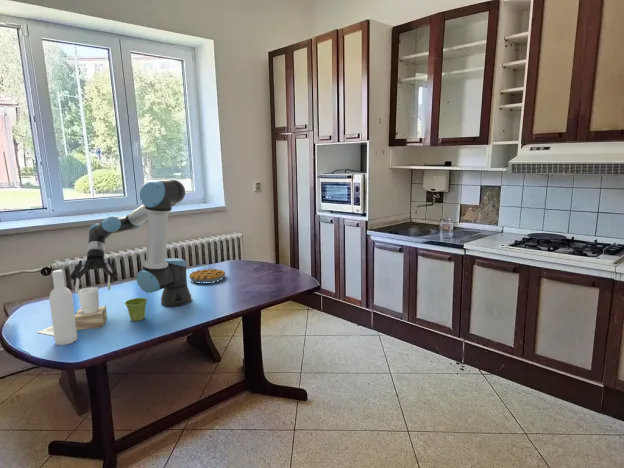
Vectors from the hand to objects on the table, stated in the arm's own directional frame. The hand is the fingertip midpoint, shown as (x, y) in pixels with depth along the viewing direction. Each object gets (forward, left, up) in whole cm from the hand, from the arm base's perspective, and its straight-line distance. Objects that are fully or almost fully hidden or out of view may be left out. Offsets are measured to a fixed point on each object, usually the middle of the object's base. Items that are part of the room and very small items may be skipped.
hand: (93, 290), depth 184 cm
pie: (-18, -67, -13) cm, 71 cm away
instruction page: (+4, +18, -13) cm, 22 cm away
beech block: (-5, +8, -13) cm, 16 cm away
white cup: (-5, +7, -7) cm, 11 cm away
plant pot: (-21, -3, -13) cm, 25 cm away
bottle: (-10, +24, -13) cm, 29 cm away
